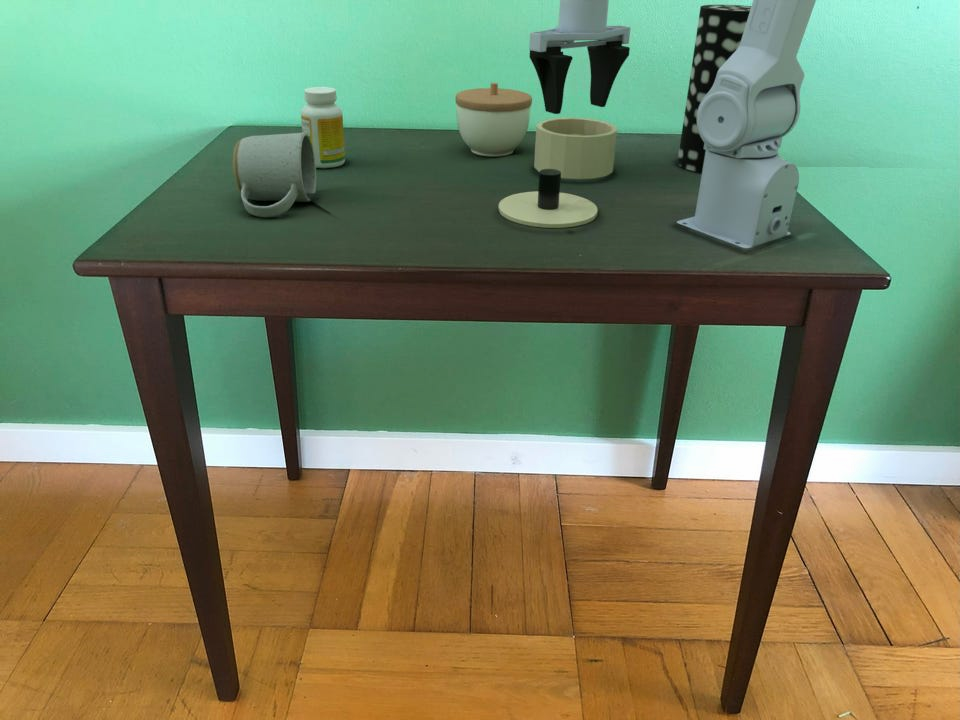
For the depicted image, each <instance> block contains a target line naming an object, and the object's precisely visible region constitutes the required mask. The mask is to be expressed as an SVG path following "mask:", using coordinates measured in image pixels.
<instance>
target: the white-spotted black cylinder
mask: <svg viewBox="0 0 960 720" xmlns="http://www.w3.org/2000/svg"><path fill="white" fill-rule="evenodd" d="M751 6H752V5H742V4H703V5H700V8H699V14H698V22H697V28H696V35H695V41H694V48H693V55H692V62H691V68H690V76H689V82H688V88H687V95H686V102H685V110H684V115H683V123H682V128H681V136H680V143H679V148H678V149H679V150H678V156H677V163H676V164H677V165H678V166H679V167H681V168H683V169H685V170H689V171H691V172H695V173H696V172H697V173H701V174H702V170H703V164H704V158H705V152H706V150H705V149H704V141H703V140H702V138H701V137H700V134H699V132H698V128H697V112H698V108H699V105H700V103H701V101H702V99H703V98H704V97H705V95H706V94H707V93H708V92H709V91H710V89H711V88H712V86H713V84H714V82H715V79H716V76H717V72H718V70H719V69H720V68H721V66H722V65H723V64H724V63H725V62H726V61H727V60H728V59H729V58H730V57H731V56H732V54H733V53H734V52H735V51H736V50H737V49H738V47H739V46H740V42H741V39H742V36H743V33H744V29H745V26H746V23H747V19H748V16H749V13H750V10H751Z"/></svg>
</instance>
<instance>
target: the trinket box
mask: <svg viewBox="0 0 960 720" xmlns="http://www.w3.org/2000/svg"><path fill="white" fill-rule="evenodd" d="M532 104H533V97H532V95H530V94H529V93H528V92H525V91H521V90H517V89H509V88H501V87H500V88H499V83H498V82H490V87H482V88H471V89H470V88H469V89H464V90H461V91H459V92H457V93H456V94H455V109H456V110H455V111H456V112H455V113H456V124H457V129H458V133H459V135H460V136H461V137H460V138H461V139H462V140H463V142H464V143H465V144H466V145H467V146H468V148H469V149H470V152H471V153H473V154H475V155H478V156H482V157H505V156H506V157H507V156H509V155H510V156H511V154H513V153H514V150H515V149H516V148H518V147H519V146H520V145H521V143H522V142H523V140H524V139H525V137H526V135H527V132H528V129H529V125H530V120H531V112H532Z"/></svg>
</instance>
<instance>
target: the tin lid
mask: <svg viewBox="0 0 960 720" xmlns="http://www.w3.org/2000/svg"><path fill="white" fill-rule="evenodd" d="M538 174H539V175H538V187H537V189H538V191H537V190H536V191H526V192H524V191H523V192H519V193H514V194H510V195H507V196H506V197H504V198H502V199H501V200H500V201H499V203H498V209H497V210H498V212H499V214H500V215H501V216H502V217H503V218H505V219H506V220H508V221H511V222H513V223H516V224H520V225H523V226H529V227H534V228H544V229H545V228H546V229H564V228H574V227H579V226H583V225H586V224H588V223H591V222H593V221H594V220H595V219H596V218H597V216H598V211H599V209H598V207H597V205H596V204H595V203H594V202H592V201H591V200H590V199H587V198H585V197H581V196H580V195H575V194H571V193H566V192H561V181H562V178H561V172H560V171H559V170H556V169H543V170H540V172H539V171H538Z"/></svg>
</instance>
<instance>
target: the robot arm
mask: <svg viewBox="0 0 960 720" xmlns="http://www.w3.org/2000/svg"><path fill="white" fill-rule="evenodd" d="M609 2H610V0H559V7H558V8H559V9H558V23H557V26H555V27H554V28H551V29H545V30H541V31H531V32H529V44H528V45H529V46H528V49H529V50H528V51H529V59H530V61H531V63H532V65H533V68H534V69H535V72H536V74H537V77H538V81H539V84H540V89H541V93H542V97H543V103H544V104H543V105H544V110H545V112H546V113H550V114H553V115H559V114H561V112H562V109H563V101H564V91H565V84H566V79H567V75H568V72H569V69H570V66H571V63H572V62H573V60H574V59H573V55H567V54H564V51H562V50H566V49H575V48H586V49H587V54H588V59H589V68H590V86H589V89H590V90H589V101H590V105H591V106H595V107H600V108H605V107H606V105H607V102H608V100H609V97H610V93H611V91H612V87H613V85H614V83H615V80H616V78H617V76H618V73H619V72H620V70H621V68H622V66H623V65H624V63H625V62H626V60H627V59H628V58H629V56H630V51H631V48H630V46H626V45H629V43H630V37H631V35H630V34H631V27H630V26H625V25H607V24H608V15H609V14H608V13H609ZM816 2H817V0H752V3H751V5H750V6H751V10H750V13H749V16H748V19H747V23H746V26H745V29H744V33H743V36H742V39H741V42H740V46H739V47H738V49H737V50H736V51H735V52H734V53H733V54H732V56H731V57H730V58H729V59H728V60H727V61H726V62H725V63H724V64H723V65H722V66H721V68H720V69H719V70H718V72H717V76H716V79H715V82H714V84H713V86H712V88H711V89H710V91H709V92H708V93H707V94H706V95H705V97H704V98H703V99H702V101H701V103H700V105H699V108H698V112H697V128H698V132H699V134H700V137H701V138H702V140H703V141H704V149H705V150H706V152H705V158H704V164H703V170H702V173H701V176H700V183H699V189H698V195H697V200H696V208H695V213H694V216H691V217H686V218H683V219H680V220H677V221H676V223H677V224H679V225H681V226H684V227H687V228H689V229H692V230H694V231H697V232H700V233H703V234H705V235H708V236H711V237H713V238H716V239H718V240H721V241H724V242H727V243H729V244H732V245H734V246H737V247H740V248H743V249H751V248H755V247H756V246H757V247H758V246H760V245H762V244H765V243H769V242H772V241H774V240H778V239H781V238H783V237H787V236H790V235H791V234H792V233H791V232H790V231H789V227H790V223H791V218H792V215H793V214H792V213H793V209H794V207H795V206H794V205H795V202H796V197H797V192H798V188H799V183H800V173H799V169H798V167H797V166H796V165H795V164H794V163H792V162H790V161H787V160H785V159H784V158H783V157H781V155H780V154H779V151H780V148H781V146H782V143H783V138H784V137H785V136H787V135H788V134H790V132H791V131H793V129H795V126H796V125H797V123H798V122H799V121H798V120H799V119H800V113H801V97H800V96H801V94H800V93H801V87H802V85H803V82H804V79H805V71H804V70H803V68H802V66H801V64H800V62H799V61H798V58H797V56H798V53H799V51H800V48H801V44H802V41H803V38H804V35H805V33H806V30H807V27H808V24H809V21H810V19H811V17H812V12H813V10H814V7H815V4H816ZM624 45H625V46H624Z"/></svg>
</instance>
